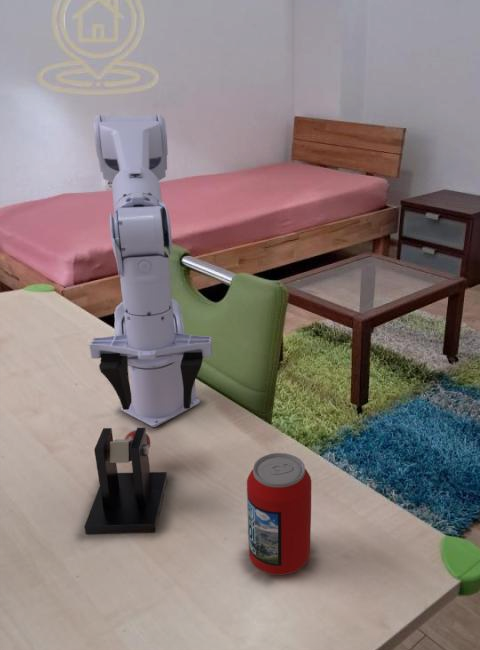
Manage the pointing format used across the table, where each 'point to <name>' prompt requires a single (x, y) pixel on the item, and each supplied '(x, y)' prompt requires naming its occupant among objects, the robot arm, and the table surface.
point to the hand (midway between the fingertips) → (157, 405)
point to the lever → (123, 448)
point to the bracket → (126, 490)
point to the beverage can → (279, 513)
